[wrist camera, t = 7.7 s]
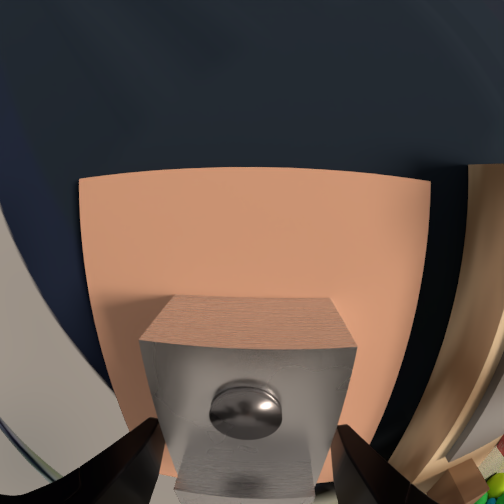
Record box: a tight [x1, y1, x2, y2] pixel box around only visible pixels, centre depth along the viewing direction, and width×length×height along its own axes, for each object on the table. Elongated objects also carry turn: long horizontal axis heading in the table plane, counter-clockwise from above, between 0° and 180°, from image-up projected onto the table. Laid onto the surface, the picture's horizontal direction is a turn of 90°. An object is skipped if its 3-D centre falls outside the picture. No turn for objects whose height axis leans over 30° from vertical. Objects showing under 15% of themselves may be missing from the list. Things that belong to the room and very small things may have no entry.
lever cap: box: [139, 294, 358, 504], centre depth 7 cm, size 8×5×4 cm, turn 0°
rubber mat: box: [79, 167, 431, 483], centre depth 10 cm, size 16×12×1 cm
